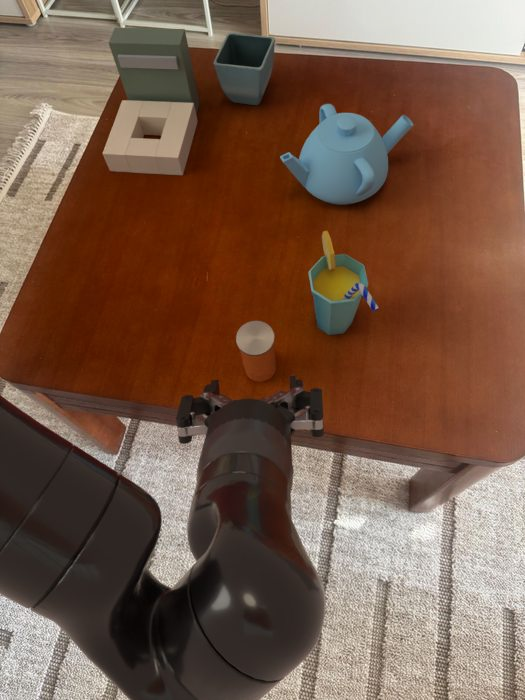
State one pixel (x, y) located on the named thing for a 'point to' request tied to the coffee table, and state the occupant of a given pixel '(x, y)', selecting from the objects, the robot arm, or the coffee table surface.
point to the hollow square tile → (151, 154)
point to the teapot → (345, 157)
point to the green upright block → (154, 64)
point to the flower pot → (245, 66)
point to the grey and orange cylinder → (257, 350)
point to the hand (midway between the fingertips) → (254, 385)
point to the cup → (338, 289)
